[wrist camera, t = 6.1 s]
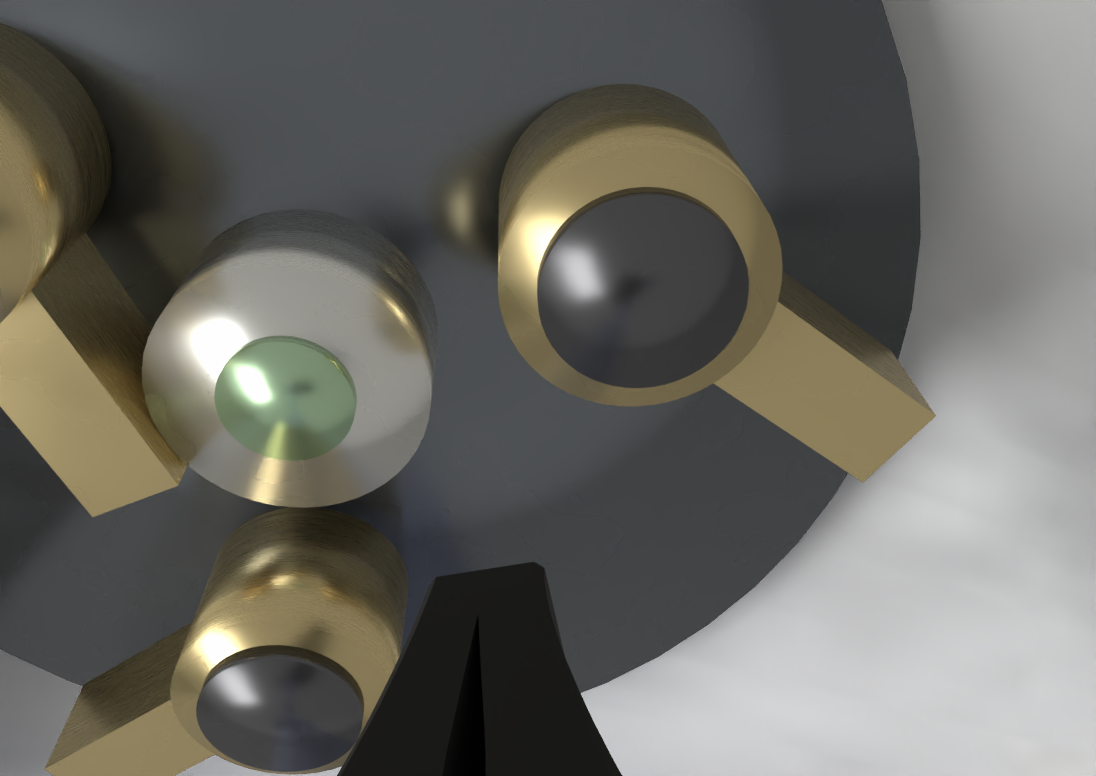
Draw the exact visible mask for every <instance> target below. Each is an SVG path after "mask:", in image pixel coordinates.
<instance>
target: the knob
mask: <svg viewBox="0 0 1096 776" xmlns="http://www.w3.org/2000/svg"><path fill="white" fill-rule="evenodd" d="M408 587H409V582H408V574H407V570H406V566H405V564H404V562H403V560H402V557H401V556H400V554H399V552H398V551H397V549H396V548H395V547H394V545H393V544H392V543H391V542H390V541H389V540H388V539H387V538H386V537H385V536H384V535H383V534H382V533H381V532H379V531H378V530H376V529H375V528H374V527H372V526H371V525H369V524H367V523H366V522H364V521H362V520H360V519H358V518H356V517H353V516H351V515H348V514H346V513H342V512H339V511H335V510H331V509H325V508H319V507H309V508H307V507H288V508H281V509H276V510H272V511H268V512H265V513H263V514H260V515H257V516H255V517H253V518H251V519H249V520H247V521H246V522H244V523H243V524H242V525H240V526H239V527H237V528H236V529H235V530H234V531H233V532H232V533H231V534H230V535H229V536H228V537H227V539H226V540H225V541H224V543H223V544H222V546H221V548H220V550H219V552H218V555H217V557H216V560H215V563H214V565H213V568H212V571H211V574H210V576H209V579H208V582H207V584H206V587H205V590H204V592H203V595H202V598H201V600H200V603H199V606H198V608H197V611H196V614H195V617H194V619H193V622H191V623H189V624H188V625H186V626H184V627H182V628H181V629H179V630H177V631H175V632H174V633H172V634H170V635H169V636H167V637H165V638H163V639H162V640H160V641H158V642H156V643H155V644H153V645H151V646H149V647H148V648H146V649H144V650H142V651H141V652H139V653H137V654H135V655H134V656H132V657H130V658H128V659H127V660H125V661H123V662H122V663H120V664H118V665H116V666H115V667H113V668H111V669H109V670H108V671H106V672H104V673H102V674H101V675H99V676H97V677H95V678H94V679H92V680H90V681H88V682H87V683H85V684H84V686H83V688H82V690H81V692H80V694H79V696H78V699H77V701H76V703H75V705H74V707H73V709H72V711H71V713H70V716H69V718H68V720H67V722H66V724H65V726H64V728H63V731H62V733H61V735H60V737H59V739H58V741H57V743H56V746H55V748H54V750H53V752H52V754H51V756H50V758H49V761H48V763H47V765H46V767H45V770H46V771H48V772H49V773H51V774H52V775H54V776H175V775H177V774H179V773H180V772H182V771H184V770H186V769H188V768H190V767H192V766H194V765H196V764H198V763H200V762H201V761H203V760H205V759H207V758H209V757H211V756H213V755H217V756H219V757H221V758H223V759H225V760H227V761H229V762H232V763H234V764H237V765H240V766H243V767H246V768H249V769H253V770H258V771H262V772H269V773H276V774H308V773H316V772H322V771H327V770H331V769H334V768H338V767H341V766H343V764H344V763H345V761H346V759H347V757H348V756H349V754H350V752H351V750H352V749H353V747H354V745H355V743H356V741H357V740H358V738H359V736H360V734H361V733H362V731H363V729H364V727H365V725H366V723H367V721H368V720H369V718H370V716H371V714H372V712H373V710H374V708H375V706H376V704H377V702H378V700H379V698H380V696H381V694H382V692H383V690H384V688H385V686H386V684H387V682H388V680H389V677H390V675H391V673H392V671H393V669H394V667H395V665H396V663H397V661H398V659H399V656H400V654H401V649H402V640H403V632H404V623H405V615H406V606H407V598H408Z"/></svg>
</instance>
